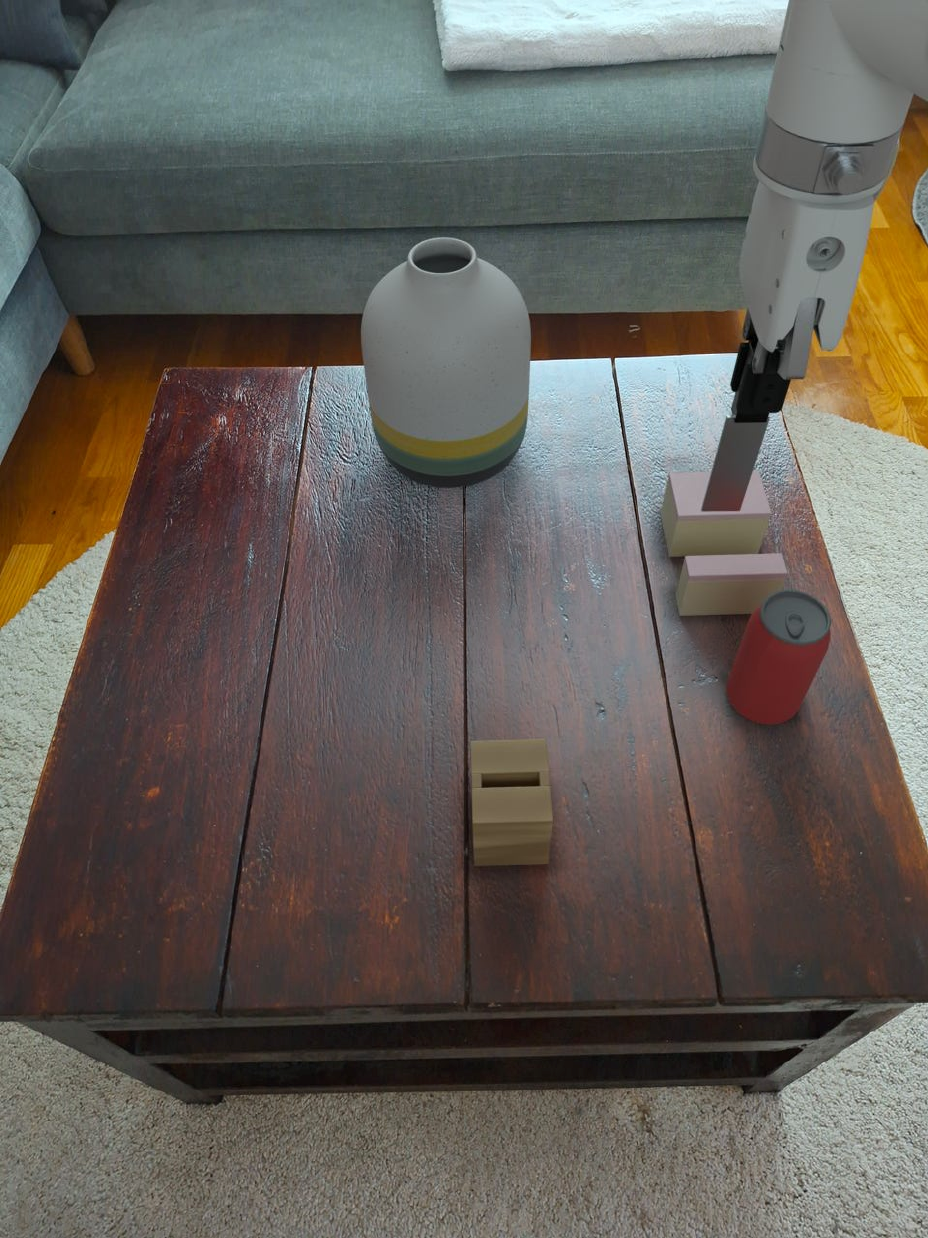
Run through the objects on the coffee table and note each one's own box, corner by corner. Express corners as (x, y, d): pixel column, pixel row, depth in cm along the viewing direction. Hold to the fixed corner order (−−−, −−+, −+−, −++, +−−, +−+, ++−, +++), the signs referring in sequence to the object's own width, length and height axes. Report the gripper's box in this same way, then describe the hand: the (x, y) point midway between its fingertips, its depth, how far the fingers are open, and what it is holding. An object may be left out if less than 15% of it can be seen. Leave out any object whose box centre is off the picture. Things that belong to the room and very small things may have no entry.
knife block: (548, 864, 75) (553, 821, 69) (474, 866, 76) (472, 823, 69) (542, 786, 80) (546, 738, 73) (472, 788, 80) (470, 740, 73)
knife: (741, 517, 77) (794, 355, 64) (702, 517, 77) (747, 355, 64) (737, 503, 78) (789, 341, 65) (699, 503, 78) (743, 341, 65)
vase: (376, 406, 110) (351, 211, 91) (519, 398, 111) (524, 202, 92) (376, 509, 100) (348, 314, 81) (534, 500, 100) (543, 303, 81)
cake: (757, 554, 95) (771, 513, 90) (669, 557, 95) (678, 515, 90) (746, 511, 99) (758, 469, 94) (660, 514, 99) (668, 472, 94)
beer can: (722, 720, 83) (751, 640, 74) (727, 661, 87) (756, 577, 78) (798, 734, 82) (838, 655, 73) (800, 674, 86) (838, 591, 76)
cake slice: (772, 613, 90) (788, 573, 86) (679, 616, 90) (689, 576, 86) (767, 593, 92) (781, 552, 87) (675, 596, 92) (684, 555, 87)
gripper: (932, 217, 49) (832, 474, 64) (855, 83, 59) (783, 333, 73) (788, 220, 49) (721, 476, 64) (734, 87, 59) (687, 336, 73)
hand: (755, 398), depth 68 cm, fingers closed on knife, 1 cm apart
